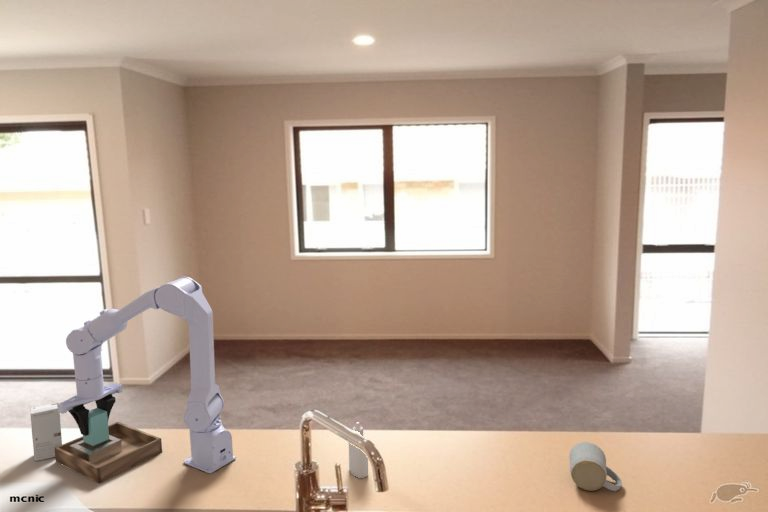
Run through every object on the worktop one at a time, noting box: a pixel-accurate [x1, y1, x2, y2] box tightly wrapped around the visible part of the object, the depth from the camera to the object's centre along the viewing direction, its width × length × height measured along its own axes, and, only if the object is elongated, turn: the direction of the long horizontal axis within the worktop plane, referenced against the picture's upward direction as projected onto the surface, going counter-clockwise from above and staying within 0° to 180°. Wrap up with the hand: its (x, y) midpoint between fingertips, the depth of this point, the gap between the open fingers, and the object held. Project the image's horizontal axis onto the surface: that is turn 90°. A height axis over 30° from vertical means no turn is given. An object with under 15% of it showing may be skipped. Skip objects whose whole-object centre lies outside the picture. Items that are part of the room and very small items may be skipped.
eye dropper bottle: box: [348, 421, 369, 479], centre depth 121 cm, size 4×6×12 cm
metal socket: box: [70, 435, 122, 464], centre depth 129 cm, size 8×8×3 cm
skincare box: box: [29, 402, 63, 462], centre depth 130 cm, size 6×4×12 cm
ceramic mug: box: [569, 441, 623, 492], centre depth 116 cm, size 11×8×8 cm
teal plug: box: [82, 407, 109, 446], centre depth 128 cm, size 4×4×7 cm
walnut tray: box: [54, 421, 163, 484], centre depth 130 cm, size 18×16×4 cm
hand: (94, 430), depth 128 cm, fingers closed on teal plug, 4 cm apart
